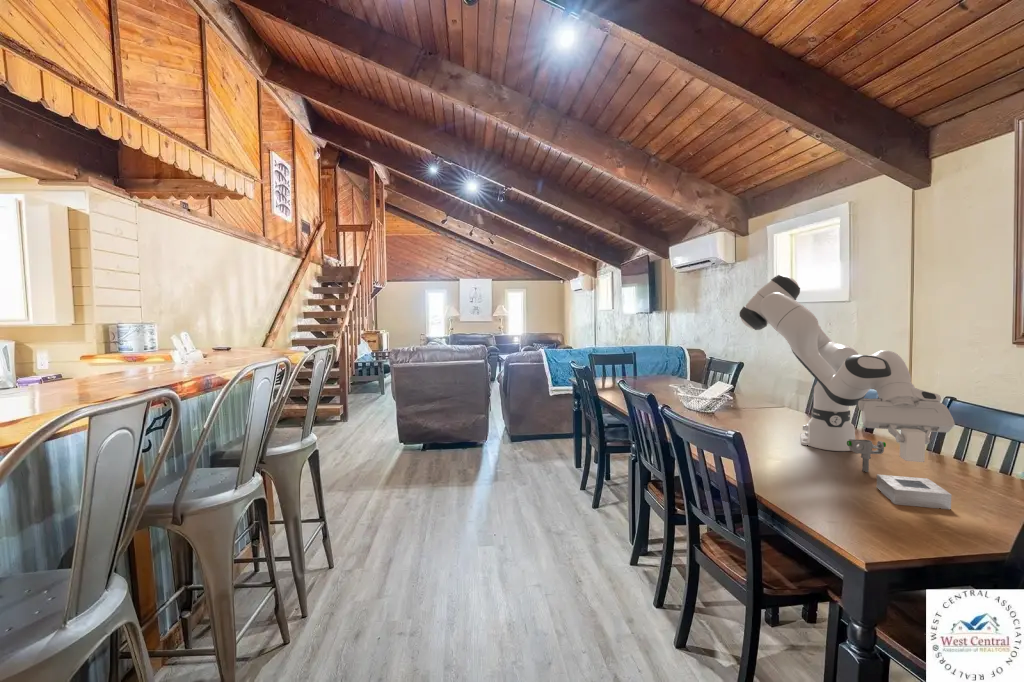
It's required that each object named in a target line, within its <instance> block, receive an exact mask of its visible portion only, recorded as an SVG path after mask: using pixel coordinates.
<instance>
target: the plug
mask: <svg viewBox="0 0 1024 682" xmlns="http://www.w3.org/2000/svg"><path fill="white" fill-rule="evenodd" d="M899 433H900V434H904V438H905V441H904V443H901V442H899V457H900V458H901V459H903V461H906V462H914V463H915V462H916V463H925V459H926V458H925V456H926V444H925V435H926V433H925V432H923V431H921V430H919V429H908V428H901V430H900V432H899Z"/></svg>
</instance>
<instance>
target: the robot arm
mask: <svg viewBox="0 0 1024 682" xmlns="http://www.w3.org/2000/svg"><path fill="white" fill-rule="evenodd" d="M800 293H801V287H800V286H799V283H798V282H797V280H795V279H794V278H792V277H791V276H788V275H784V274H778V275H776V276H774V277H772V279H771V278H770V281H769V282H767V283H766V284H765V285H764V286H762V287H761V288H760V289H759V290H758V291H757V292H756V293H755V294H754V296H752V298H751V299H750V300H749V301H748V302H747V303H746V304H745V305H743V306H742V308H741V309H740V311H739V317H740V320H741V321H742V324H744V325H745V326H746V327H747V328H750V329H752V330H754V331H761V330H763V329H764V328H766V327H767V326H768V324H769V325H770V326H771V327H772V328H773V329H774V330H775V331H777V333H778V334H779V335H781V336H782V337H783V338H784V340H786V342H787V343H788V345H789V347H790V348H791V353H792V354H793V355H794V356H795V357H796V359H797V360H798V361H799V362H800V363H801V364H802V366H803V367H804V368H805V369H806V370H807V371H808V372H809V373H810V375H811V376H812V377H813V378H814V379H815V380H816V381H817V382H816V384H815V385H814V387H813V407H811V408H812V409H811V415H810V416H811V418H810V419H809V420H808V422H807V424H802V431H803V432H805V433H800V444H801V445H803V446H807V445H808V446H809V447H811V448H816V449H820V450H825V451H833V452H849V451H851V450H850V449H849V446H848V445H847V441H849V439H854V440H856V431H855V425H854V424H853V423H851V415H852V414H851V410H850V407H854V406H858V409H859V410H860V413H861V422H862V423H861V424H862V425H863V426H864V427H865V428H867V429H878V430H879V429H881V430H887V432H888V433H889V434H890V435H892V436H893V438H895V441H896V443H900V442H901V443H904V441H905V438H904V434H900V433H901V432H899V430H900V431H901V428H908V429H919V430H921V431H923V432H925V433H926V435H925V445H929V444H930V443H931V440H930V439H931V438H930V437H929V436H930V434H931V432H933V433H934V432H935V433H949V432H951V431H952V429H953V428H954V427H955V424H956V423H955V420H954V418H953V415H952V414H951V412H950V410H949V408H948V407H947V406H946V405H945V404H943V402H941V400H942V398H941V396H940V395H939V394H938V393H935V392H931V391H926V390H922V389H920V388H916V387H915V385H914V384H913V383H912V376H911V374H910V371H909V368H908V366H907V364H906V362H905V360H904V359H903V358H902V357H901V355H900V354H898V353H896V352H895V351H891V350H879V351H875V352H873V353H872V354H868V355H867V354H859V352H857V351H856V350H855V349H854V348H853V347H851V346H849V345H847V344H843V343H837V342H836V341H833V340H832V339H831V338H830V337H829V336H828V335H827V334H826V333H825V332H824V330H823V329H822V327H821V326H820V325H819V320H818V318H817V316H815V314H814V313H813V312H812V311H811V310H809V309H808V308H807V307H805V306H804V305H802V304H801V303H800V302H799V301H797V298H798V297H799V295H800ZM870 390H874V391H876V392H877V396H878V398H868V397H866V395H867V394H868V392H869V391H870ZM808 446H807V447H808ZM857 447H859V444H858V445H857Z"/></svg>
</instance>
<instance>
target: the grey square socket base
mask: <svg viewBox="0 0 1024 682" xmlns="http://www.w3.org/2000/svg"><path fill="white" fill-rule="evenodd" d="M877 488H878V489H879V490H880V491H881V492H880V491H879V492H880V493H881V494H882V495H884V496H885V497H886V498H887V499H888V500H889V499H890V500H891V501H890V500H889V501H890V502H891V503H892V504H894V505H900V506H911V507H921V508H931V509H939V508H941V510H950V509H952V495H953V494H952V493H950V492H949V491H948V490H946V489H944V488H943V487H941V486H939V484H937V483H935V482H934V481H933V480H931V479H929V478H925V477H914V476H913V477H911V476H902V475H901V476H899V475H890V474H889V475H887V474H876V489H877ZM878 489H877V490H878Z"/></svg>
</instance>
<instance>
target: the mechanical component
mask: <svg viewBox="0 0 1024 682" xmlns="http://www.w3.org/2000/svg"><path fill="white" fill-rule="evenodd" d="M847 445H848V446H849V449H850V451H852V452H853V453H855V454H860V458H861V459H862V464H861V465H862V466H861V468H862V470H861V471H862V472H864V471H865V472H868V473H869V469H870V468H869V466H870V464H869V463H870V459H872V457H871V455H883V454H884V451H885V448H886V447H887V444H886V442H885V441H881V440H878V441H877V443H876V445H874V444H873V441H872V440H869V439H855V440H854V439H849V441H847ZM857 445H859V447H857ZM873 449H876V450H873ZM865 472H864V473H865Z"/></svg>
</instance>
